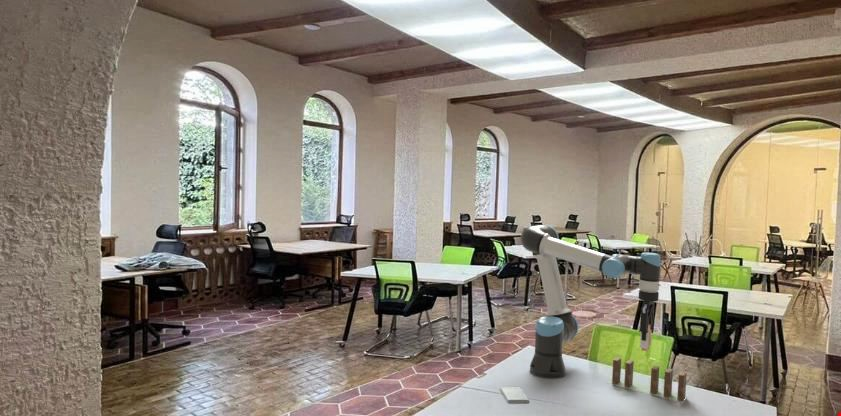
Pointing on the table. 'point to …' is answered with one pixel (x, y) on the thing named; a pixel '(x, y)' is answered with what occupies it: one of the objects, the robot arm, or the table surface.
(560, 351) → the robot arm
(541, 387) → the table surface
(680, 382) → the domino
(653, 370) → the domino
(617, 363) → the domino
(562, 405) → the table surface
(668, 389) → the domino
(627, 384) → the domino
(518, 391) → the hard drive
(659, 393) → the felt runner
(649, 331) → the domino
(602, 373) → the table surface
